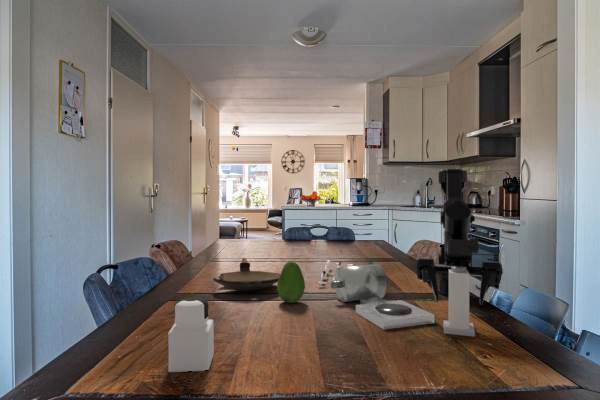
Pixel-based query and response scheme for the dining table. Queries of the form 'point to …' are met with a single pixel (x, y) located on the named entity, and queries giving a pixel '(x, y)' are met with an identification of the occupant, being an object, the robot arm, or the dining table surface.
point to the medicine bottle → (191, 336)
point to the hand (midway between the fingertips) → (458, 302)
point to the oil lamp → (247, 278)
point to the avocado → (291, 283)
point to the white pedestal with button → (458, 303)
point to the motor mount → (376, 298)
